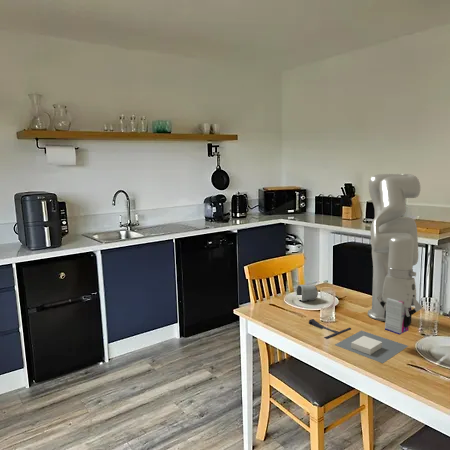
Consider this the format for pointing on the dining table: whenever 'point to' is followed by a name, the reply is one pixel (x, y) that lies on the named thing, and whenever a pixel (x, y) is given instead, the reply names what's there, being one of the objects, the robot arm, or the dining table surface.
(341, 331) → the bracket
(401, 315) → the supplement box
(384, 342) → the mat
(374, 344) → the tile
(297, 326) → the dining table surface
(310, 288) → the ceramic mug
